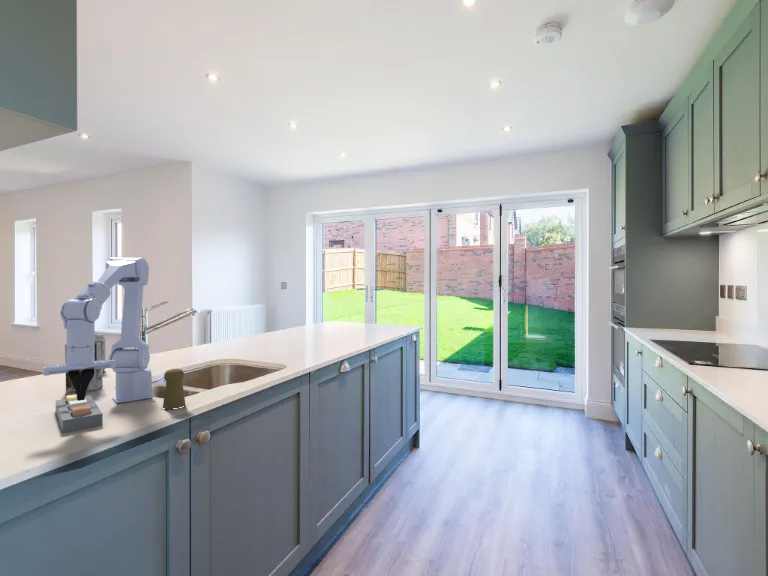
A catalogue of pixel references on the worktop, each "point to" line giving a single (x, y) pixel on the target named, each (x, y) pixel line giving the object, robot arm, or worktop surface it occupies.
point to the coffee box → (97, 378)
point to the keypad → (80, 421)
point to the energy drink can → (101, 337)
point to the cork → (174, 389)
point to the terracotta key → (80, 410)
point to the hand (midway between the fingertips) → (80, 399)
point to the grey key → (77, 403)
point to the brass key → (71, 398)
